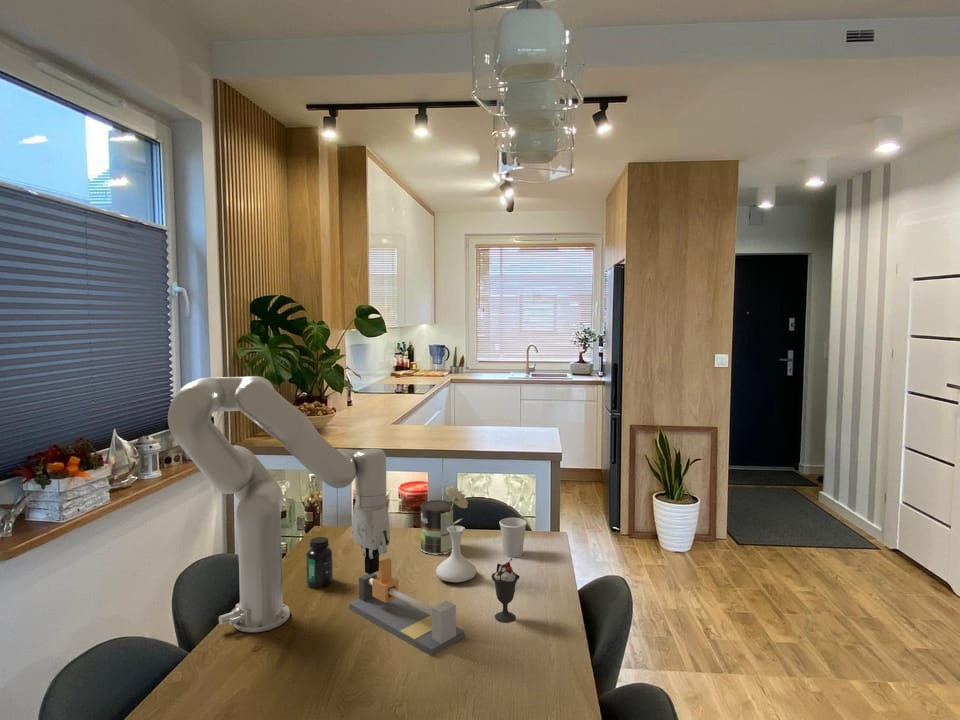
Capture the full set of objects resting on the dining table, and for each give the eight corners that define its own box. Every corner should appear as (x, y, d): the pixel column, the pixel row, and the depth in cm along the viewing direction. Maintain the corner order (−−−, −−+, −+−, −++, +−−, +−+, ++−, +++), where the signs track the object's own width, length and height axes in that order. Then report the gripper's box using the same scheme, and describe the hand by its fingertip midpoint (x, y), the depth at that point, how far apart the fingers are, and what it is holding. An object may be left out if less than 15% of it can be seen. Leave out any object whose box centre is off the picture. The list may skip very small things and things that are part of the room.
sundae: (517, 625, 134) (517, 563, 134) (489, 622, 136) (489, 560, 135) (521, 612, 141) (521, 552, 140) (494, 609, 142) (494, 549, 141)
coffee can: (424, 557, 174) (424, 511, 173) (417, 544, 184) (417, 501, 183) (457, 553, 177) (457, 508, 176) (449, 541, 187) (448, 498, 186)
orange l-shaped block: (372, 596, 141) (372, 560, 140) (385, 590, 144) (385, 555, 143) (385, 602, 137) (384, 565, 137) (398, 596, 140) (398, 560, 140)
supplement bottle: (312, 591, 152) (311, 546, 151) (303, 581, 157) (302, 538, 157) (336, 584, 156) (336, 540, 155) (327, 575, 161) (326, 533, 161)
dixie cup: (527, 549, 180) (527, 518, 180) (525, 560, 172) (525, 527, 171) (500, 548, 181) (501, 516, 181) (497, 558, 173) (497, 526, 173)
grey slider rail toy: (349, 609, 142) (348, 575, 142) (381, 595, 150) (381, 563, 149) (431, 656, 122) (431, 617, 122) (464, 637, 129) (464, 600, 129)
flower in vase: (482, 582, 157) (483, 492, 156) (443, 589, 153) (442, 496, 151) (466, 564, 169) (466, 480, 168) (428, 570, 165) (428, 484, 164)
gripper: (340, 496, 145) (341, 568, 146) (377, 509, 135) (378, 586, 136) (365, 490, 150) (366, 559, 151) (402, 502, 140) (403, 575, 141)
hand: (372, 571), depth 144 cm, fingers closed
